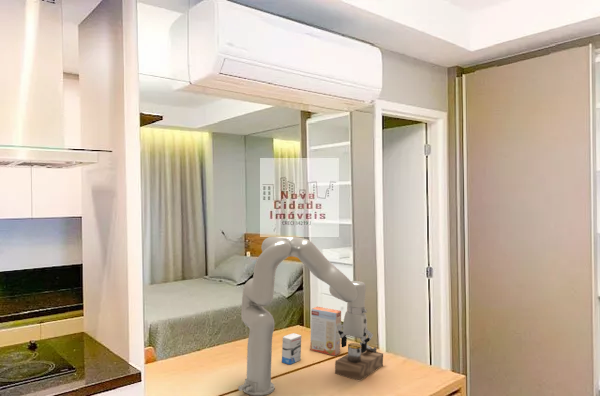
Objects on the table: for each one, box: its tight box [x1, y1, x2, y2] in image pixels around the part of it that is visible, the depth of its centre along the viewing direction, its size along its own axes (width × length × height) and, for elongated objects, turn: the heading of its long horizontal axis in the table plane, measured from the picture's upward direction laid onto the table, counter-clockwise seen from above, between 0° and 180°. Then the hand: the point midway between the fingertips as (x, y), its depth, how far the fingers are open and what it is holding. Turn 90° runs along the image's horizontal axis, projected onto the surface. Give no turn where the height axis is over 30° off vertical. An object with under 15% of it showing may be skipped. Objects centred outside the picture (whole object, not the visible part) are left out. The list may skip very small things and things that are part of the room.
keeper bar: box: [359, 341, 374, 352], centre depth 208 cm, size 10×3×1 cm
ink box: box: [281, 332, 302, 366], centre depth 211 cm, size 8×5×12 cm, turn 143°
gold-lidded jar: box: [347, 342, 361, 363], centre depth 199 cm, size 6×6×12 cm
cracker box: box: [309, 306, 342, 356], centre depth 225 cm, size 14×6×21 cm, turn 58°
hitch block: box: [334, 346, 384, 382], centre depth 203 cm, size 22×12×8 cm, turn 144°
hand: (353, 349), depth 199 cm, fingers open, 9 cm apart
